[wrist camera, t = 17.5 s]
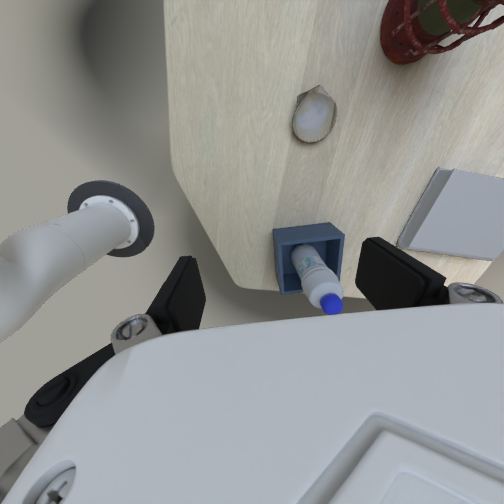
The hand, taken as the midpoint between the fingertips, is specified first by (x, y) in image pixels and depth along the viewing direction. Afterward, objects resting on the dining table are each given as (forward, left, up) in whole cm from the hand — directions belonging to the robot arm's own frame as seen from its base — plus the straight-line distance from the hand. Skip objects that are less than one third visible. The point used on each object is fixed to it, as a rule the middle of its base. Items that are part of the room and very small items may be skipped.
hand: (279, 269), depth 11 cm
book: (+48, -14, -34) cm, 61 cm away
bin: (+10, -18, -34) cm, 40 cm away
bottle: (+10, -18, -33) cm, 39 cm away
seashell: (+12, +10, -34) cm, 38 cm away
